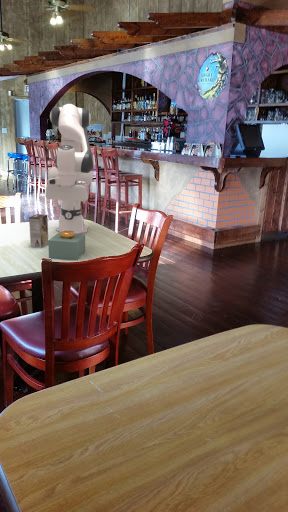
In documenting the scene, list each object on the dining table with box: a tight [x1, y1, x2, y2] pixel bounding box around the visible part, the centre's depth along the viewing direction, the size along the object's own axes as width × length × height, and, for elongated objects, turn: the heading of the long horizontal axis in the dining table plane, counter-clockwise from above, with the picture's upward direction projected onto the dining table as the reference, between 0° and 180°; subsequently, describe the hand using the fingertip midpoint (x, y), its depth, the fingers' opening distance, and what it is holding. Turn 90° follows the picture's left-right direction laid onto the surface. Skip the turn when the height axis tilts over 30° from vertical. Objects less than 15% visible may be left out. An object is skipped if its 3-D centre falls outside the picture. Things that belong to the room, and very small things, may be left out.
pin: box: [61, 231, 74, 239], centre depth 208 cm, size 7×7×10 cm
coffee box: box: [28, 213, 49, 249], centre depth 221 cm, size 9×6×16 cm
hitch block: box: [48, 231, 86, 261], centre depth 209 cm, size 16×14×9 cm
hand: (67, 209), depth 203 cm, fingers open, 7 cm apart
